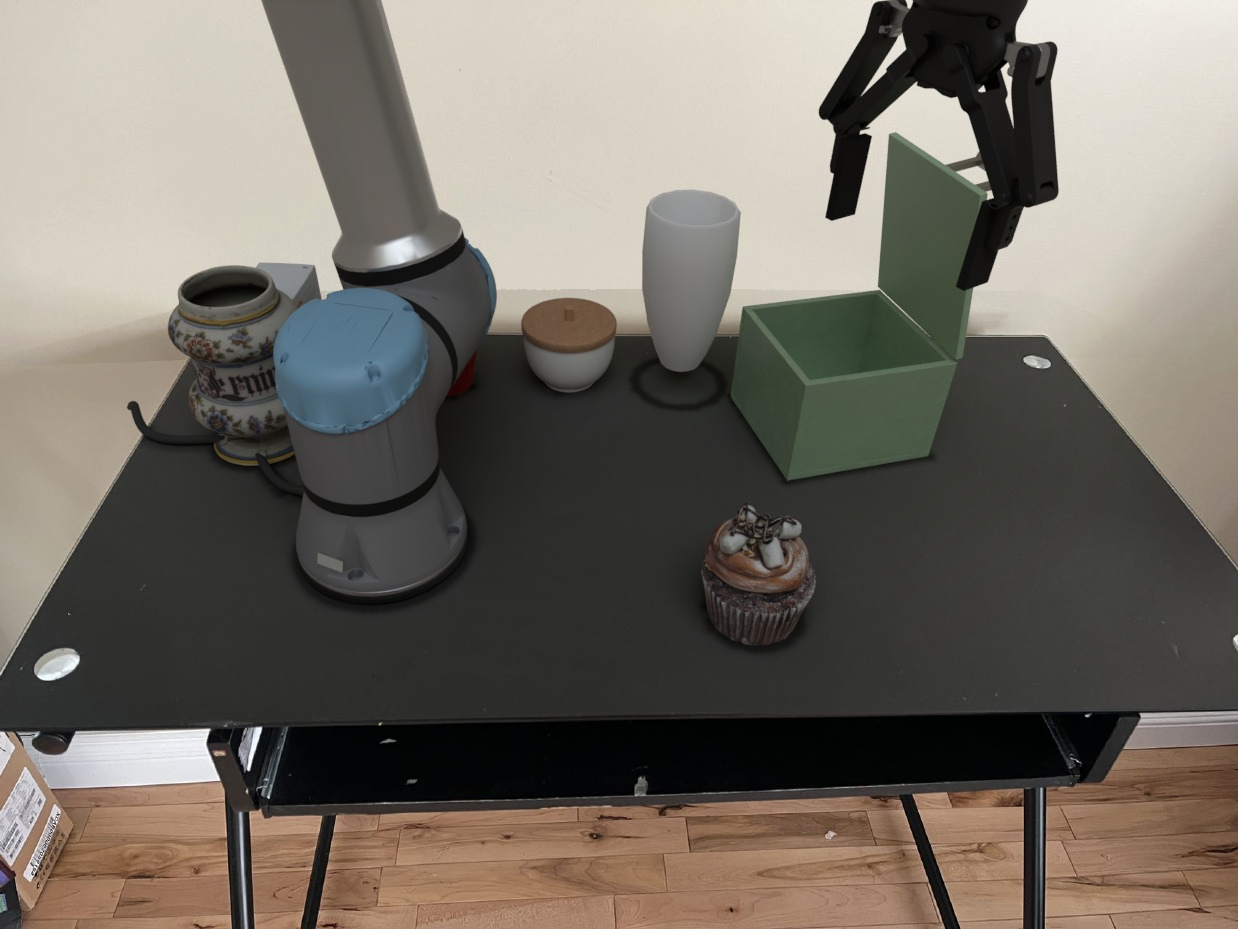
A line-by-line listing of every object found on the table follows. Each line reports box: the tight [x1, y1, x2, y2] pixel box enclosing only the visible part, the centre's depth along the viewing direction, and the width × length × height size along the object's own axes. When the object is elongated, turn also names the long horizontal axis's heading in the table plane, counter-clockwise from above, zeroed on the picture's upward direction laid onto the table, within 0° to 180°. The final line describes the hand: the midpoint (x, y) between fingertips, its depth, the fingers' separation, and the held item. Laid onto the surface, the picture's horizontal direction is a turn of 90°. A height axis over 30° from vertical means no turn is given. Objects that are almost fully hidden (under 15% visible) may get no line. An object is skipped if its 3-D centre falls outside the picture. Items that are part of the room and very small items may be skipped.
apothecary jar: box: [167, 264, 297, 467], centre depth 90 cm, size 12×12×18 cm
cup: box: [641, 189, 742, 373], centre depth 100 cm, size 10×10×22 cm
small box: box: [255, 262, 323, 309], centre depth 100 cm, size 8×6×13 cm
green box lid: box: [877, 131, 992, 361], centre depth 90 cm, size 17×16×9 cm
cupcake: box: [700, 502, 817, 647], centre depth 76 cm, size 10×10×10 cm
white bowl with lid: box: [520, 297, 618, 393], centre depth 104 cm, size 11×11×9 cm
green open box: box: [730, 289, 958, 481], centre depth 97 cm, size 17×16×12 cm
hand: (901, 248), depth 71 cm, fingers open, 13 cm apart
